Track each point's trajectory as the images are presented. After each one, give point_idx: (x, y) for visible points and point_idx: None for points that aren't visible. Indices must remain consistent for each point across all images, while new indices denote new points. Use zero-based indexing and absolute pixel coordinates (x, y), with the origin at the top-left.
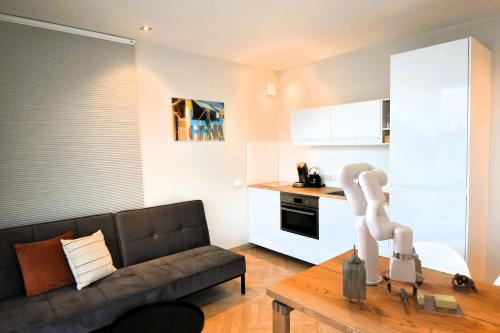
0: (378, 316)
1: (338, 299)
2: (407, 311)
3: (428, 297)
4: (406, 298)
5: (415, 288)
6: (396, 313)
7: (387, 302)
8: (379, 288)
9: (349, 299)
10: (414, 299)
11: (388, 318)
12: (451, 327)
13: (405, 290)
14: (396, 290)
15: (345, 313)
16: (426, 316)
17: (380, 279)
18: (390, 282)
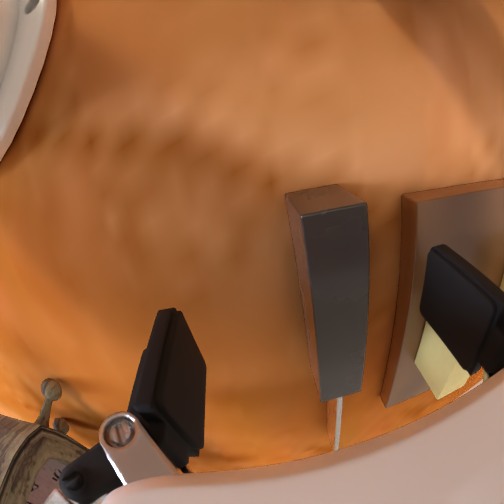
0: (210, 465)
1: (30, 408)
2: (330, 441)
3: (498, 227)
4: (349, 390)
5: (473, 362)
6: (276, 441)
7: (206, 391)
8: (58, 184)
9: (63, 433)
10: (408, 320)
11: (248, 464)
12: (454, 398)
13: (367, 260)
14: (230, 122)
15: None
16: None
17: (31, 19)
18: (193, 472)
